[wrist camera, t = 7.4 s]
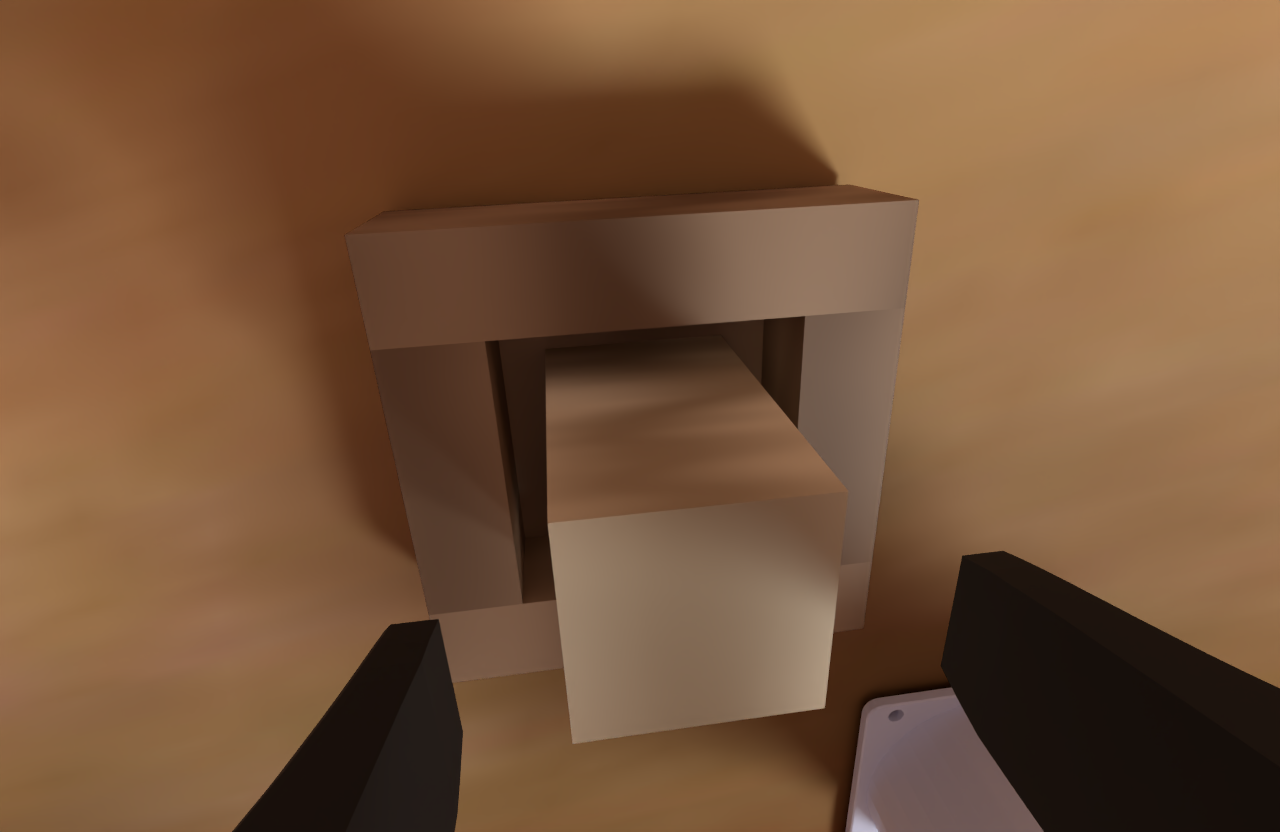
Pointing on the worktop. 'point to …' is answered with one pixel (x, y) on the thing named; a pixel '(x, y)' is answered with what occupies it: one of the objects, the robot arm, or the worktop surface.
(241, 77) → the worktop surface
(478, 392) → the walnut holder
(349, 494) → the worktop surface
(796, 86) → the worktop surface
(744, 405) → the birch post
